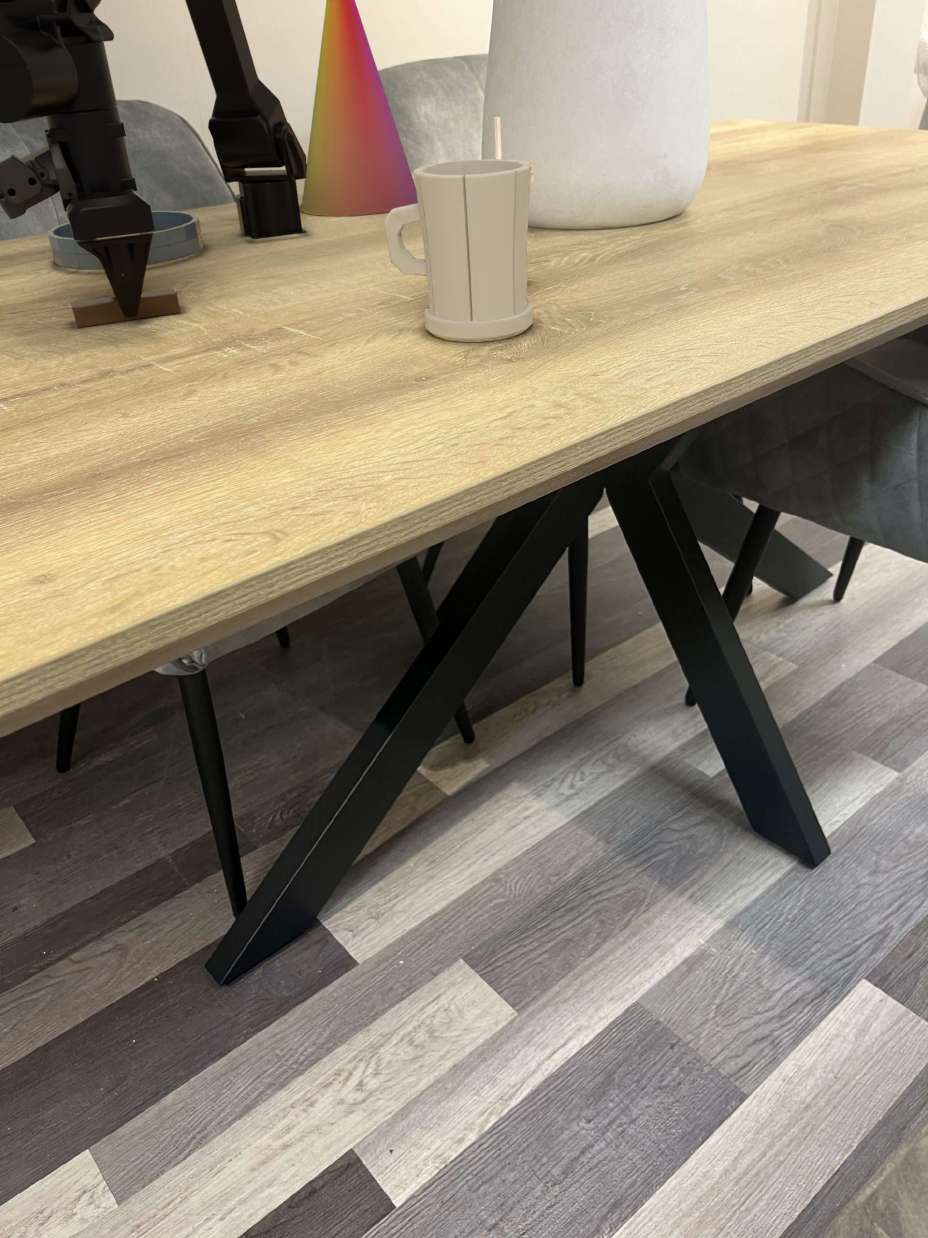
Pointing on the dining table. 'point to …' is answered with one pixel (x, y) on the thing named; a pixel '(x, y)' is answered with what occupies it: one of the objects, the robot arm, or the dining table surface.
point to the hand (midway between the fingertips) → (125, 305)
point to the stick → (111, 311)
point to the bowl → (170, 242)
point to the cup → (469, 247)
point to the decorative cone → (352, 128)
